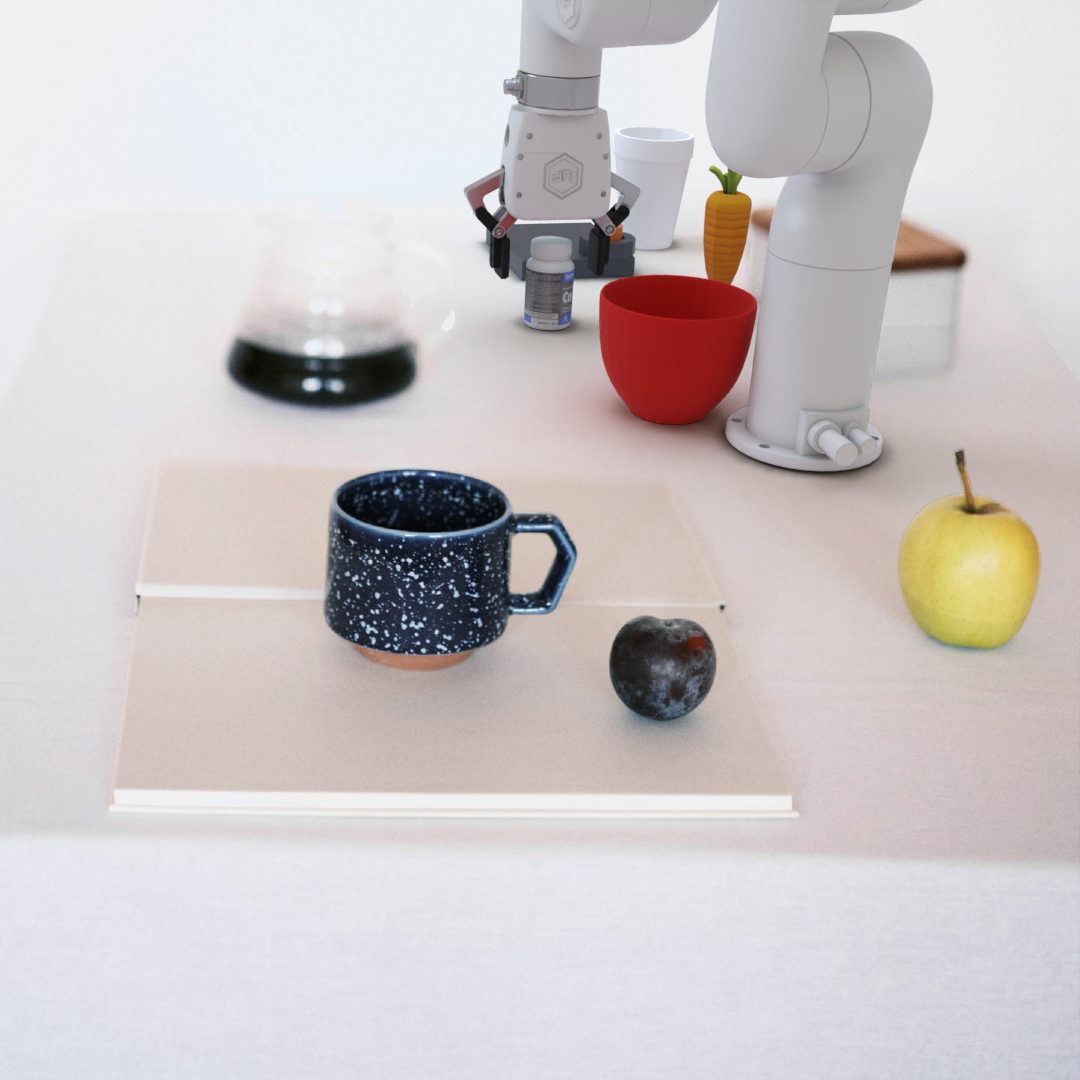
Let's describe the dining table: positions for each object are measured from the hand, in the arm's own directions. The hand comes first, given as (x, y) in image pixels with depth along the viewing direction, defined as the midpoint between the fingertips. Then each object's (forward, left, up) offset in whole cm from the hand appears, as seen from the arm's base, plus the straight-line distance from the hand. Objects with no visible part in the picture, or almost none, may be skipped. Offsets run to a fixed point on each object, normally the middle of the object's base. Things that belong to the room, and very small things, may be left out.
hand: (548, 273), depth 135 cm
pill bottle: (0, 0, -5) cm, 5 cm away
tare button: (+17, -12, -1) cm, 21 cm away
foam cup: (+29, -21, -5) cm, 36 cm away
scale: (+23, -8, -5) cm, 25 cm away
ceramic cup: (-23, -5, -5) cm, 24 cm away
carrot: (+6, -21, -5) cm, 22 cm away
